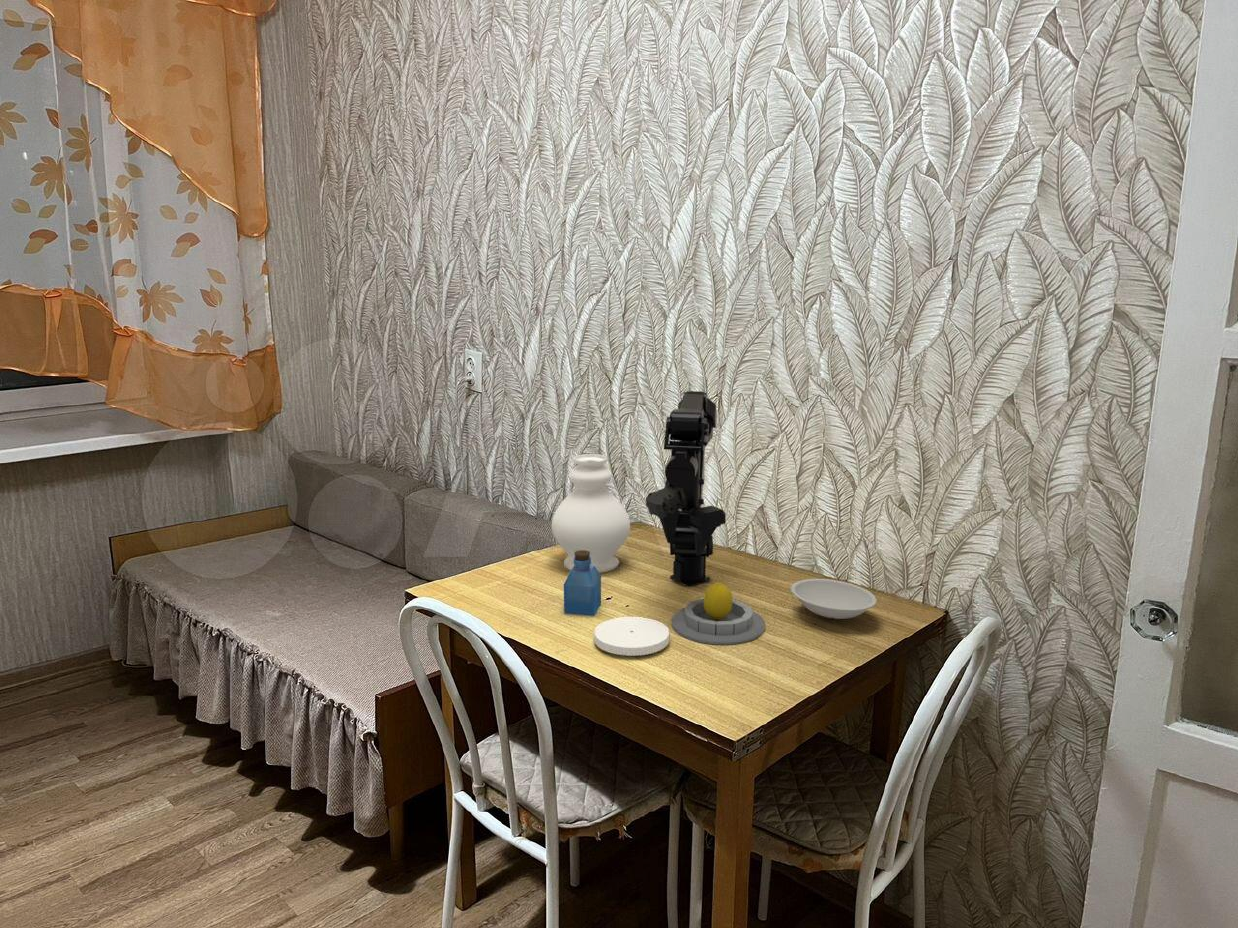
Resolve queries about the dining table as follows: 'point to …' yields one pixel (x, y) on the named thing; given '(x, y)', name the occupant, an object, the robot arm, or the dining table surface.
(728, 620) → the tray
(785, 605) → the dining table surface
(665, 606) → the dining table surface
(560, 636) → the dining table surface
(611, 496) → the decorative vase
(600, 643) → the plastic lid
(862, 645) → the dining table surface
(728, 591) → the lemon
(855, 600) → the dish
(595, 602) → the perfume bottle
